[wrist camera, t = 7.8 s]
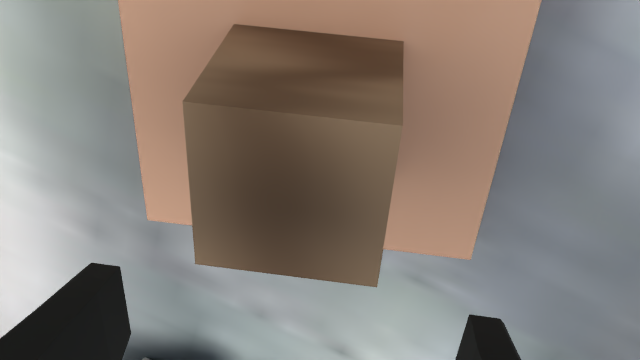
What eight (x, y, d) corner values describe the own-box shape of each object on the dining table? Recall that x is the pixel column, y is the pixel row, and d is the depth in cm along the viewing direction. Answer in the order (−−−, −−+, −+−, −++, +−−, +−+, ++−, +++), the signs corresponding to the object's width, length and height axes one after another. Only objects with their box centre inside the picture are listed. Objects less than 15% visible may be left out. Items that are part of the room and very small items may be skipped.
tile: (560, -107, 16) (569, -100, 15) (468, 241, 23) (470, 259, 22) (114, -145, 16) (99, -140, 16) (156, 203, 23) (147, 219, 23)
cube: (403, 41, 17) (402, 125, 13) (383, 182, 20) (376, 287, 16) (234, 23, 18) (182, 101, 14) (237, 165, 21) (195, 264, 17)
